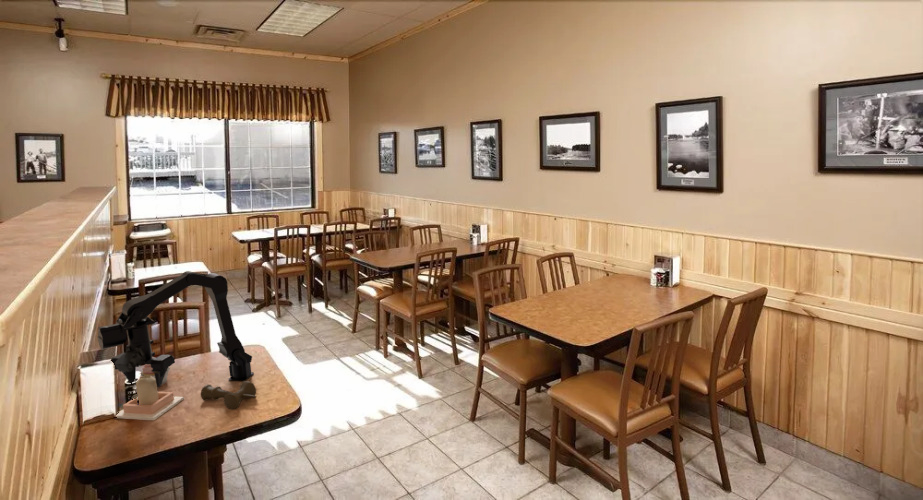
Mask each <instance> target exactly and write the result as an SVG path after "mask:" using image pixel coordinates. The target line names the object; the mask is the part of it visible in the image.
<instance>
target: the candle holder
mask: <svg viewBox="0 0 923 500" xmlns="http://www.w3.org/2000/svg"><path fill="white" fill-rule="evenodd" d="M158 397H159V400H158V401H156V402H155V403H153V404H152V405H137V404H138V403H137V398H136V399H134V398H132V399H133V400H132V399H130V400H129V401H128V402H126V403H124V404H122V409H121V410H119V411H118V412H119V413H118V412H117V413H118V414H117V415H116V417H117V418H116V419H128V420H141V421H142V420H143V421H155V420H157V419H159V417H161V416H163V415H164V414H165V413H166V412H168V411H169V410H171V409H173V408H174V407H175V406H176V405H178V404H179V403H180V402H182V401H183V400H184V399H185V398H184V396H174V392H172V391H158Z"/></svg>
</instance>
